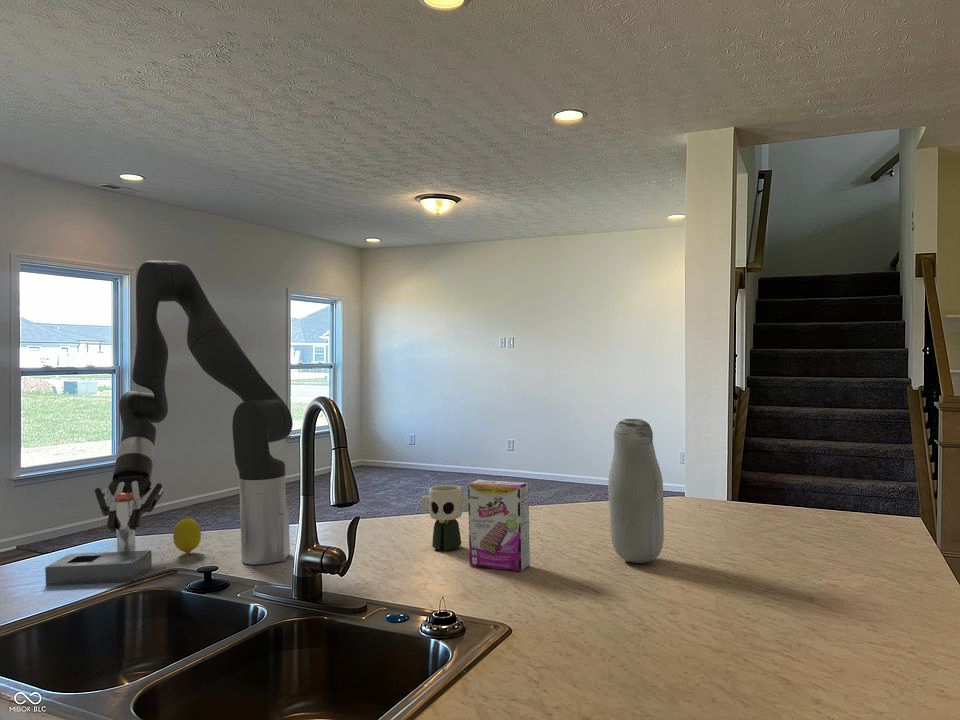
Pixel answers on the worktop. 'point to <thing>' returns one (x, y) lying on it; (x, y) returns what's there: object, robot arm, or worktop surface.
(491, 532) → the candy bar box
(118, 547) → the pin
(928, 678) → the worktop surface
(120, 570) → the grey block with hole
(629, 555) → the grey bottle
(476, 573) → the worktop surface
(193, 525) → the lemon
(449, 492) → the character mug
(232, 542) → the worktop surface
